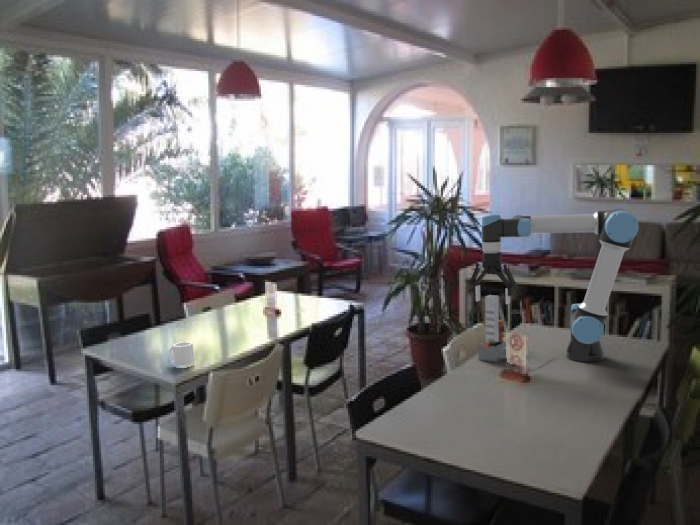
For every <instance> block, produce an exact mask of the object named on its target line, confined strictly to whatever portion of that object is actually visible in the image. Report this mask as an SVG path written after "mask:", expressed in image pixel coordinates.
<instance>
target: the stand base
mask: <svg viewBox="0 0 700 525" xmlns="http://www.w3.org/2000/svg"><path fill="white" fill-rule="evenodd" d="M505 347H506V349H505ZM505 359H507V343H506V341H504V342H500V341H499V343H497V344H495V345H494V344H490V343H486V340H484V341H482V342H480V343H478V361H483V362H487V363H488V362H489V363H495V364H498V363H499V362H502V361H503V360H505Z"/></svg>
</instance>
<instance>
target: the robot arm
mask: <svg viewBox="0 0 700 525" xmlns="http://www.w3.org/2000/svg"><path fill="white" fill-rule="evenodd" d="M638 232H639V221H638V218H637V216H635V215H634V214H633V213H632V212H630V211H629V210H626V209H623V208H615V209H609V210H598V211H595V212H594V213H583V214H582V213H578V214H577V213H575V214H574V213H573V214H543V215H541V214H540V215H514V216H512V217H511V218H501V215H500V214H499V213H490V214H489V213H488V214H484V215H483V216H482V217H481V239H482V240H481V241H482V243H481V244H482V245H481V246H482V247H481V248H482V250H481V251H482V262H476V263H475V269H474V271H473V272H472V275H471V277H470V280H469V282H468V284H470V285H472V287H473V293H474V294H475V302H481V284H480V283H481V281H482V280H483V279H484V278H485V276H486V275H496V276H497V277H498V278H499V279H500V280H501V281H502V283H503V284H504V285H505V287H506V288H505V305H509V304H511V296H512V295H513V288H514V287H516V286H518V285H517V282H516V281H515V278H514V276H513V274H512V272H511V270H510V265H509V263H503V264H502V252H501V250H502V241H501V240H502V238H526V237H527V238H528V237H530V236H531V234H565V233H566V234H569V233H571V234H572V233H575V234H576V233H581V234H582V233H594V234H595V235H597V236H598V235H600V236H599V243H600V244H601V248H600V251H599V253H598V256H597V259H596V262H595V266H594V267H593V271H592V275H591V278H590V281H589V284H588V287H587V290H586V293H585V296H584V299H583V301H582V302H581V303H573V304H571V305H570V306H571V308H570V340H569V343H568V345H567V348H566V351H565V352H566V354H565V355H566V357H567V358H568V359H569V360H572V361H576V362H582V363H591V362H592V363H596V362H601V361H603V360H604V359H605V352H604V348H603V346H602V342H601V339H602V336H603V335H604V330H605V329H604V326H605V323H606V321H607V318H608V315H609V314H608V312H607V310H606V309H607V305H608V302H609V299H610V296H611V293H612V290H613V287H614V284H615V282H616V279H617V275H618V272H619V269H620V266H621V263H622V260H623V257H624V255H625V254H624V253H625V252H626V251H628V250H630V249H631V247H632V244H633V241H634V239H635V237H636V236H637V234H638ZM482 268H483V270H482V271H481V269H482ZM502 270H503V271H504V273H503V271H502ZM480 271H481V273H480V274H479V272H480ZM567 358H566V359H567Z"/></svg>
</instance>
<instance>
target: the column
mask: <svg viewBox="0 0 700 525" xmlns="http://www.w3.org/2000/svg"><path fill="white" fill-rule="evenodd" d="M484 301H485V303H484V304H485V305H484V307H485V308H484V309H485V314H484V316H485V341H486V343H490V344H494V345H495V344H497V343H499V320H500V319H499V316H500V315H499V313H500V312H499V309H500V308H499V295H493V294H492V295H491V294H488V295H486V296H485V298H484Z"/></svg>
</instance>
